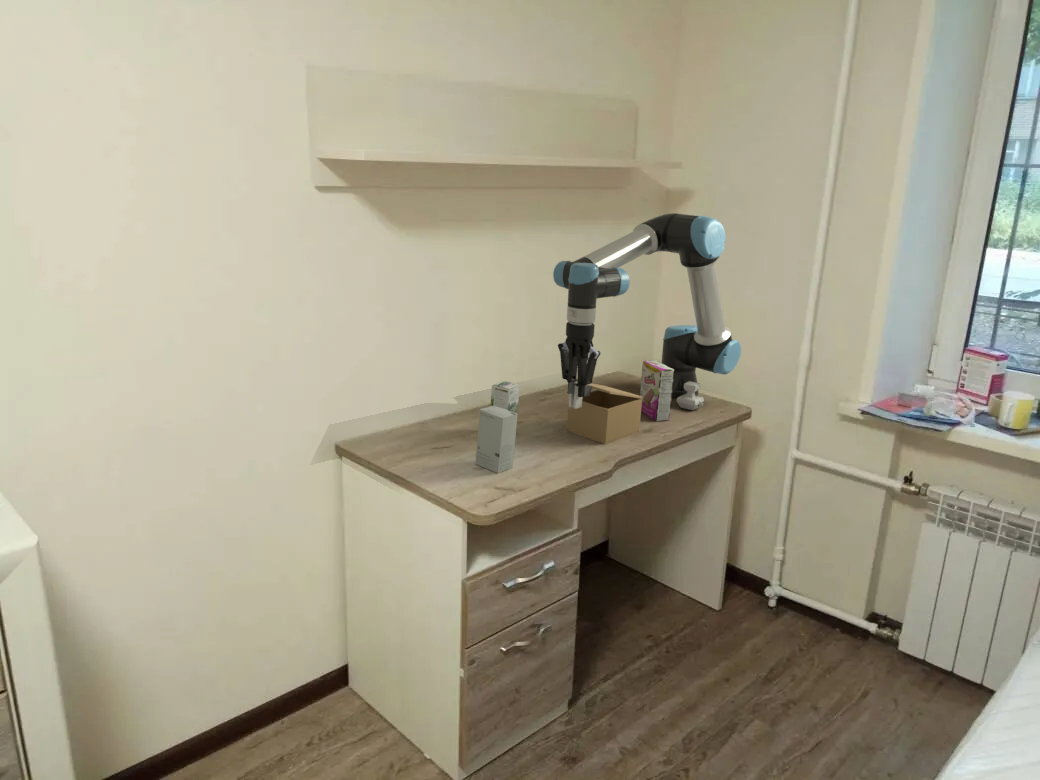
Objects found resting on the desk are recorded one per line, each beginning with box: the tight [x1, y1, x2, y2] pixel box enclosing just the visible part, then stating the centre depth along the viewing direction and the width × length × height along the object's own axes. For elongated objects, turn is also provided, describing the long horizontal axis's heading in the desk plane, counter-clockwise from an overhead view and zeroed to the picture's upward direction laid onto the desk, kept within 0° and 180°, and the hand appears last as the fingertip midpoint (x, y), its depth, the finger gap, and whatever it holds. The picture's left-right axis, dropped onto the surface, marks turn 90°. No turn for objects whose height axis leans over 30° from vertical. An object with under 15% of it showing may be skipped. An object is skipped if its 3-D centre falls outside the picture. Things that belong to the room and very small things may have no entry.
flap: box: [566, 381, 642, 399], centre depth 223 cm, size 25×14×3 cm, turn 137°
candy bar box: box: [639, 359, 674, 422], centre depth 243 cm, size 11×5×16 cm, turn 22°
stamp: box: [676, 381, 705, 411], centre depth 254 cm, size 9×7×8 cm
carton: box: [566, 389, 642, 445], centre depth 228 cm, size 16×14×10 cm
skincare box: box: [475, 405, 519, 474], centre depth 198 cm, size 8×6×15 cm
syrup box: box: [490, 380, 520, 431], centre depth 221 cm, size 6×6×14 cm
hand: (575, 406), depth 217 cm, fingers closed on flap
